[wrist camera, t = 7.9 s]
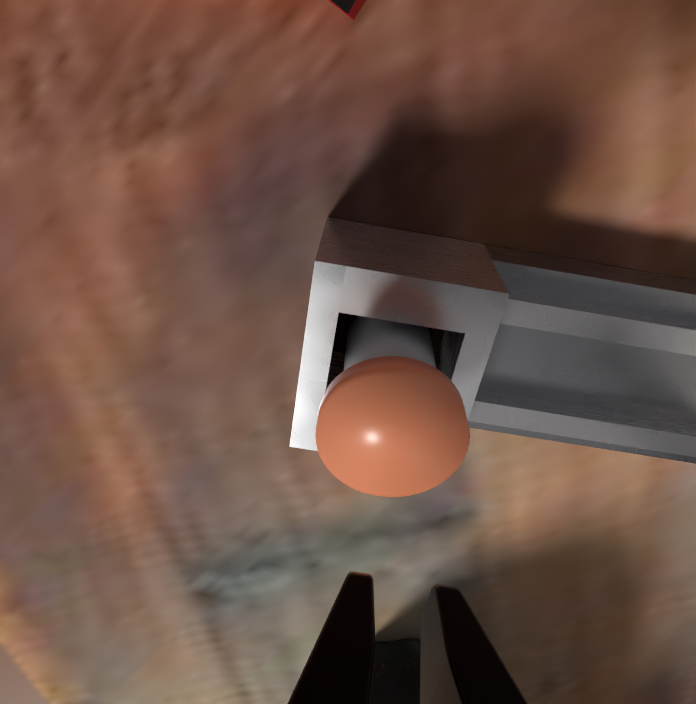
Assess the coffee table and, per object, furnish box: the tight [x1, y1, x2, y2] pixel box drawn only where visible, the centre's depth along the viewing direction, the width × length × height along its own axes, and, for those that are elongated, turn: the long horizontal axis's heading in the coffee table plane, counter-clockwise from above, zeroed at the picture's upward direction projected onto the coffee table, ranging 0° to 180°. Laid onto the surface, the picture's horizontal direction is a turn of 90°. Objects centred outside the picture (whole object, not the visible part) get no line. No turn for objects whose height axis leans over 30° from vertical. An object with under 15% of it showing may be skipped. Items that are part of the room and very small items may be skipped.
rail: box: [289, 217, 696, 463], centre depth 17 cm, size 24×6×4 cm, turn 81°
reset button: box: [315, 316, 470, 497], centre depth 15 cm, size 4×4×5 cm
